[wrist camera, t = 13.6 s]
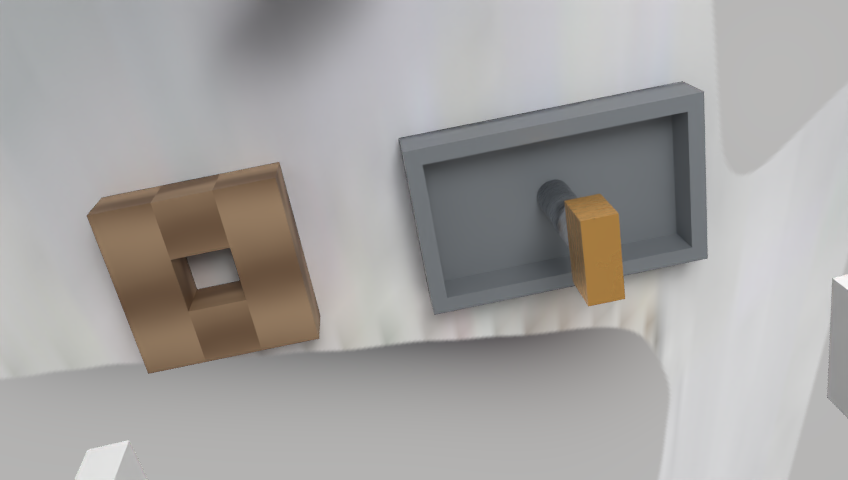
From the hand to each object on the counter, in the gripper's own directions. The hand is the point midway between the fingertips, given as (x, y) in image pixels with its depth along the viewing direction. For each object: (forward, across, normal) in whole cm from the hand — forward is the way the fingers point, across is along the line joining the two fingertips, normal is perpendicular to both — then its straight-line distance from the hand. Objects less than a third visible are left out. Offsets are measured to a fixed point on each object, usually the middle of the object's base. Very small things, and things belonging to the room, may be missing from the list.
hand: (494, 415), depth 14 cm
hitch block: (+33, -13, -10) cm, 37 cm away
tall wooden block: (+33, +9, -11) cm, 36 cm away
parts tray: (+33, +9, -11) cm, 36 cm away
